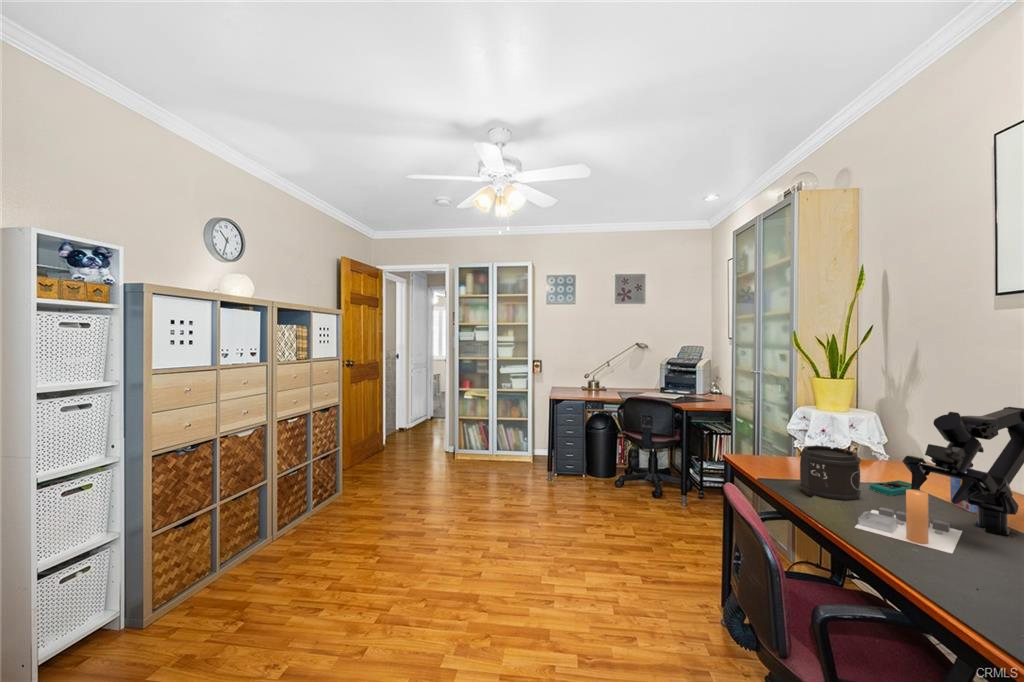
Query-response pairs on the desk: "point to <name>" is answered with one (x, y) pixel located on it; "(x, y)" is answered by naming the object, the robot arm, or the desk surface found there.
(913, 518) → the plug
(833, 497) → the black drum container
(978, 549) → the desk surface
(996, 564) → the desk surface
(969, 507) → the ink cartridge box
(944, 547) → the breaker panel
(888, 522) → the socket collar
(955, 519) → the desk surface
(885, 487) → the digital multimeter
